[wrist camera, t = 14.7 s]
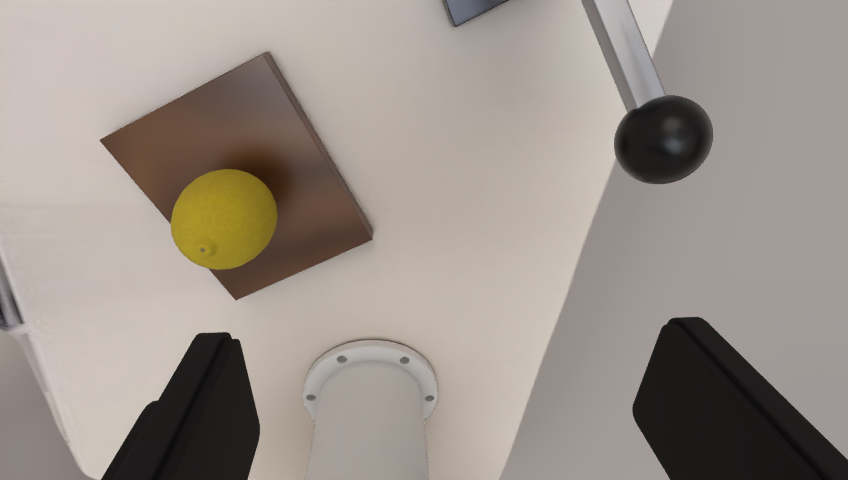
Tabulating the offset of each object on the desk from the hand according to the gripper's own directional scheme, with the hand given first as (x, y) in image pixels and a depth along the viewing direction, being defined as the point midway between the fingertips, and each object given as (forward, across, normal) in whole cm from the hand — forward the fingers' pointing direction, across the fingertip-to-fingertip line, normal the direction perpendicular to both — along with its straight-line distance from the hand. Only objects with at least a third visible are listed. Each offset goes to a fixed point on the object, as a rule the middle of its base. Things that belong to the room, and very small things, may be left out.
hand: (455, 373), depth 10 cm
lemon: (+21, +11, +4) cm, 24 cm away
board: (+23, +11, +4) cm, 26 cm away
